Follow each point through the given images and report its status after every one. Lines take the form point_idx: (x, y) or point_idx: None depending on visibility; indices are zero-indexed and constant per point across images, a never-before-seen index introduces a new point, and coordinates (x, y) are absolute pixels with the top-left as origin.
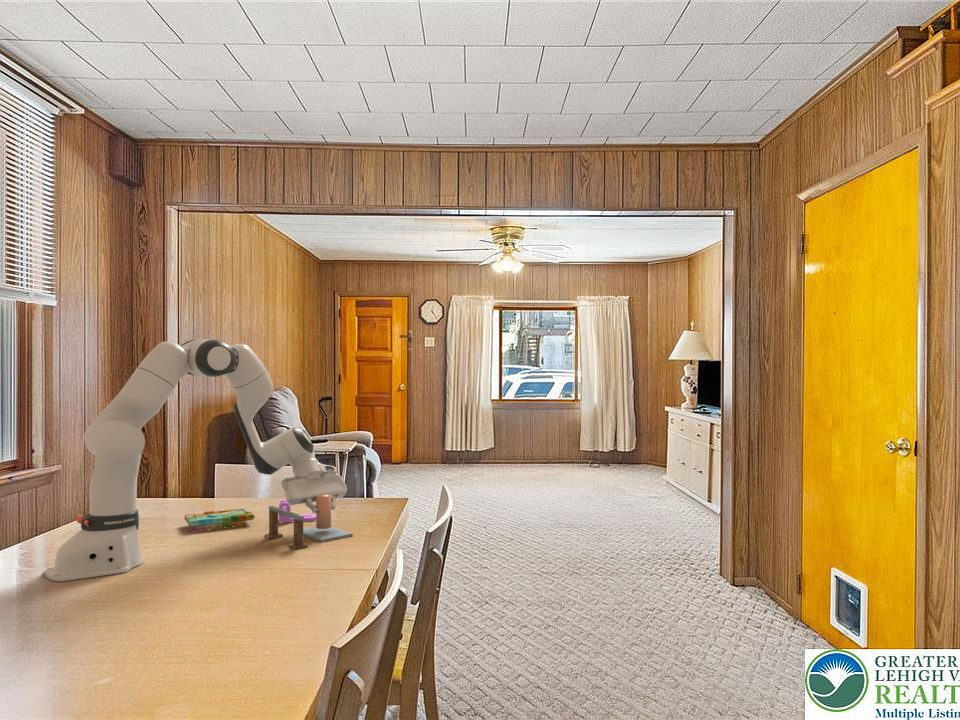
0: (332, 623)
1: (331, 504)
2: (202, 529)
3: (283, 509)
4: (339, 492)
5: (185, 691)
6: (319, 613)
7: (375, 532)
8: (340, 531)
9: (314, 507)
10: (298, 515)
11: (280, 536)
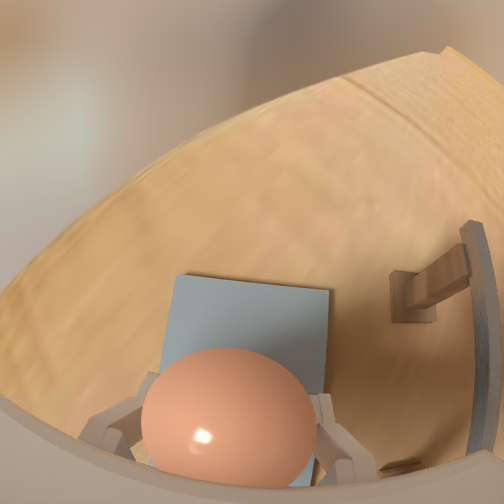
0: (429, 58)
1: None
2: None
3: None
4: (28, 413)
5: (497, 85)
6: (436, 69)
7: (97, 254)
8: (184, 342)
9: (329, 407)
10: (483, 251)
11: (388, 469)
